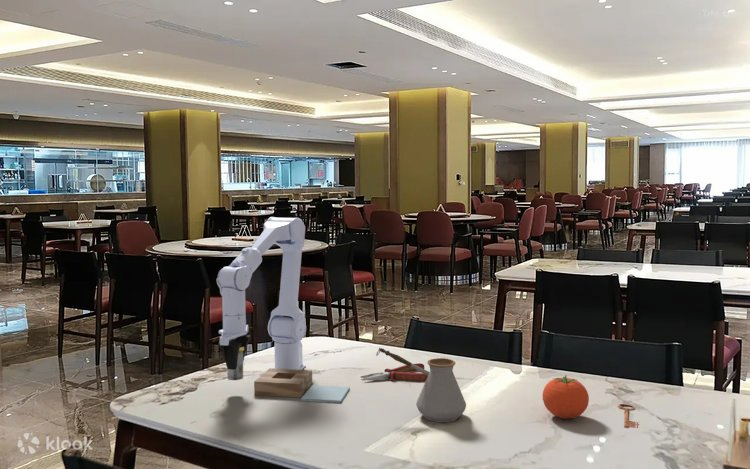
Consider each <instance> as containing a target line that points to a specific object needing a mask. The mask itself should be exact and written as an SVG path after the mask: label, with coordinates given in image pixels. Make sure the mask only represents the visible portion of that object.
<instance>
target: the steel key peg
mask: <svg viewBox="0 0 750 469" xmlns="http://www.w3.org/2000/svg"><path fill="white" fill-rule="evenodd" d="M243 350H244V346H242V345H241V346H240V349H239V353H238V360H237V367H236V369H235V370H232V369H227V370H226V371H227V372H226V373H227V374H226V376H227V380H229V381H239V380H243V379H244V361H243Z"/></svg>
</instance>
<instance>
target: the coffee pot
mask: <svg viewBox="0 0 750 469" xmlns="http://www.w3.org/2000/svg"><path fill="white" fill-rule="evenodd" d="M380 353H382V354H385V356H387V357H388V356H389V357H391V359H393V360H394V361H397V362H398V363H401V364H402V365H408V366H410V367H412V368H414V369H416V370H418V372H419V373H424V374H425V375H427V376H428V377H427V379H426V381H424V384H423V386H422V389H421V391H420V393H419V396H418V398H417V400H416V403H415V405H416V408H417V410H418V411H419V414H421V415H422V416H424V418H425V419H426V420H428V421H432V422H437V423H450V422H454V421H456V420H457V419H459V418H458V417H461V415H462V414H464V412H465V410H466V408H467V403H466V400H465V397H464V396H463V393H462V391H461V388H460V386H459V383H458V381H457V379H456V376H455V374H454V371H453V369H454V366H456V361H455V360H454V359H451V358H446V357H441V358H431V359H429V360H427V365H429V371H428V370H426V369H425V368H424V369H422V368H420V367H418V366H416V365H414V364H415V363H412V362H411V361H409V360H407V359H406V358H403V357H402V356H400V355H399V354H396V353H392V352H390V350H386V349H384V348H382V347H379V348H378V349H377V352H376V354H375V355H376V356H379V354H380Z"/></svg>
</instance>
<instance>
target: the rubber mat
mask: <svg viewBox="0 0 750 469" xmlns="http://www.w3.org/2000/svg"><path fill="white" fill-rule="evenodd" d="M309 387H310V388H308V389H307V390H306V391H305V392H304V395H302V396H301V397H300V398H301V399H300V401H301V402H312V403H313V402H315V403H334V404H341V403H342V401H343V400H344V399H345V397H346V396H347V395H348V393H349V391H350V389H351V387H350V386H339V385H338V386H337V385H318V384H317V385H316V384H311V385H310V386H309Z"/></svg>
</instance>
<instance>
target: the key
mask: <svg viewBox="0 0 750 469" xmlns="http://www.w3.org/2000/svg"><path fill="white" fill-rule="evenodd" d="M617 407H618V408H619V409H620V410H624V412H623V413H624V422H623V428H626V429H627V428H635V429H639V427H638V426H640V424H638V423H639V422H636V421H633V420H629V414H630V413H629V412H630V411H635V410H636V407H634V406H632V405H631V404H625V403H620V404H618V406H617ZM636 426H637V427H636Z"/></svg>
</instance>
